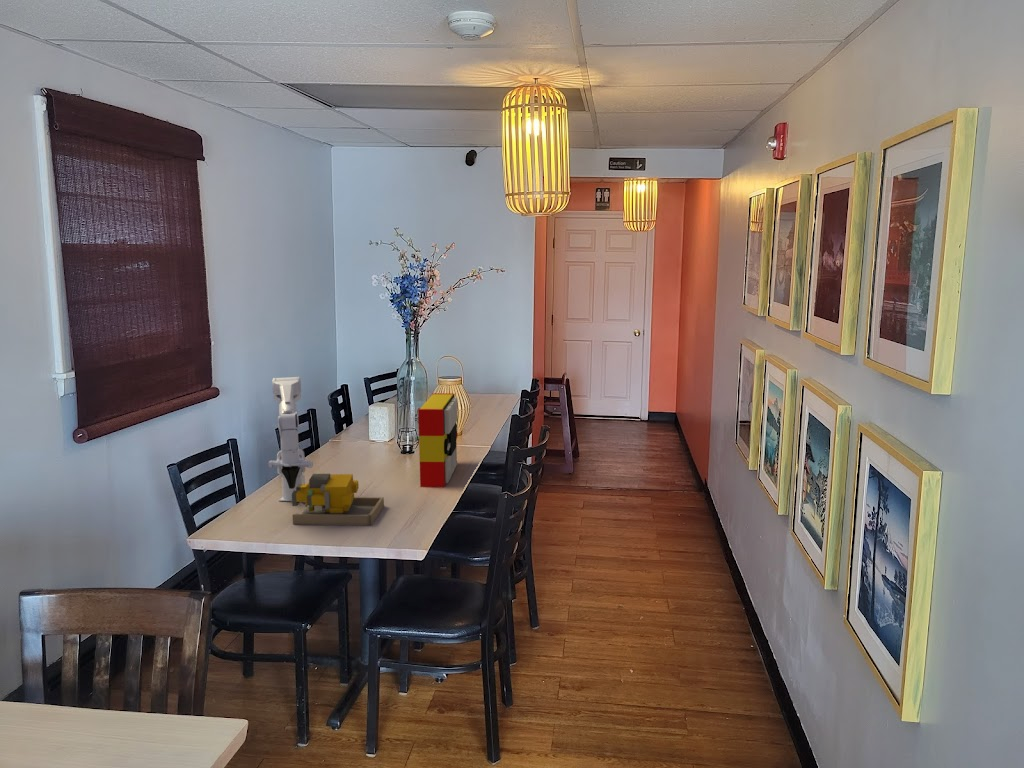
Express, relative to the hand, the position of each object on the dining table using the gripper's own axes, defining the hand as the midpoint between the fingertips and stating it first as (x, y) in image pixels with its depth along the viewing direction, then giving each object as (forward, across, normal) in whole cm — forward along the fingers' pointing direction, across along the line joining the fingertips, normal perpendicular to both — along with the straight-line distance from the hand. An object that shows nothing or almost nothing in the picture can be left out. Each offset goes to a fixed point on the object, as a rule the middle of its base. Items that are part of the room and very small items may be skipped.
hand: (292, 487), depth 261 cm
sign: (+10, +43, +49) cm, 66 cm away
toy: (+2, +1, -1) cm, 3 cm away
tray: (+9, +16, 0) cm, 19 cm away
